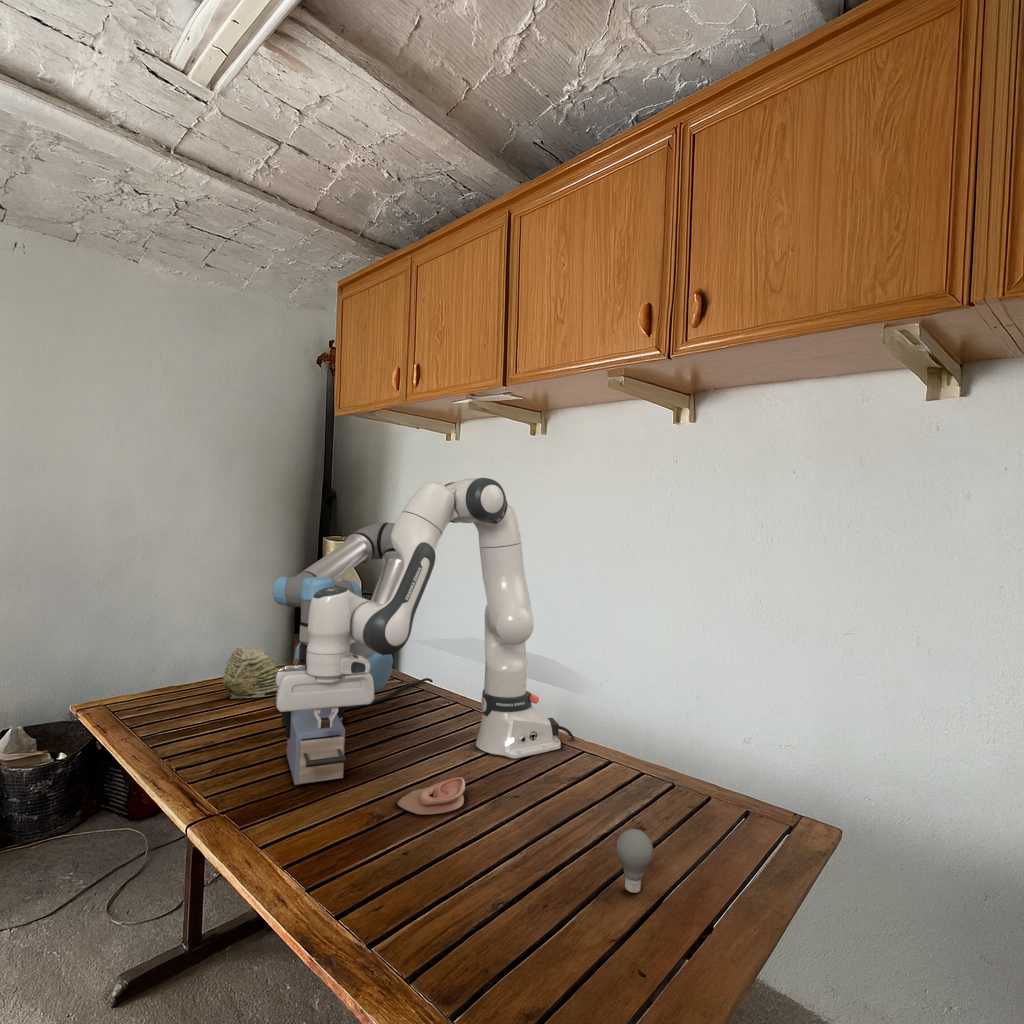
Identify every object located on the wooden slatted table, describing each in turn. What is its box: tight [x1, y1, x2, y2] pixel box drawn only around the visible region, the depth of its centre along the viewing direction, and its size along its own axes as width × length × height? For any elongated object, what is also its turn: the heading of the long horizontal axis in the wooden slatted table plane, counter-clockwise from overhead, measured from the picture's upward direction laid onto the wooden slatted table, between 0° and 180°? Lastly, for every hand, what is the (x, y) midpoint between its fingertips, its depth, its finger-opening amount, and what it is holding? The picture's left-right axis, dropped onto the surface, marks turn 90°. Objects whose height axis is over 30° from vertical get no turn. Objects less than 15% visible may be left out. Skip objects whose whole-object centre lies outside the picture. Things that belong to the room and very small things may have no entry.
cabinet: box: [286, 708, 346, 786], centre depth 148 cm, size 17×10×11 cm, turn 25°
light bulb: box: [615, 828, 654, 894], centre depth 106 cm, size 6×6×10 cm
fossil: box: [222, 646, 280, 699], centre depth 198 cm, size 9×18×15 cm, turn 132°
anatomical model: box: [397, 776, 466, 816], centre depth 133 cm, size 13×4×12 cm
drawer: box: [298, 735, 347, 785], centre depth 143 cm, size 22×9×9 cm, turn 25°
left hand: (312, 733), depth 152 cm, fingers closed on cabinet, 10 cm apart
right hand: (324, 727), depth 136 cm, fingers closed
